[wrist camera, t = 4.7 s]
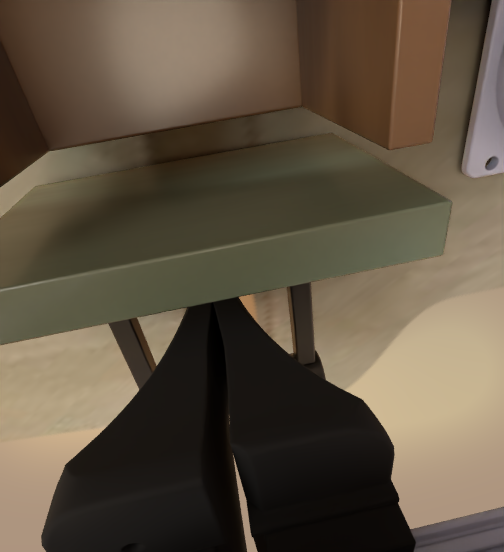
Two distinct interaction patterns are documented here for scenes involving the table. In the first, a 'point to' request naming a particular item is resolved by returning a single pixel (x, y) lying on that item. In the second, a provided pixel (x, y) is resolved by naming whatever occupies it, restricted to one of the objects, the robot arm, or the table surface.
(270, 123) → the table surface
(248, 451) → the robot arm
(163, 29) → the drawer
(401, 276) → the table surface
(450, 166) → the table surface
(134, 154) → the table surface
